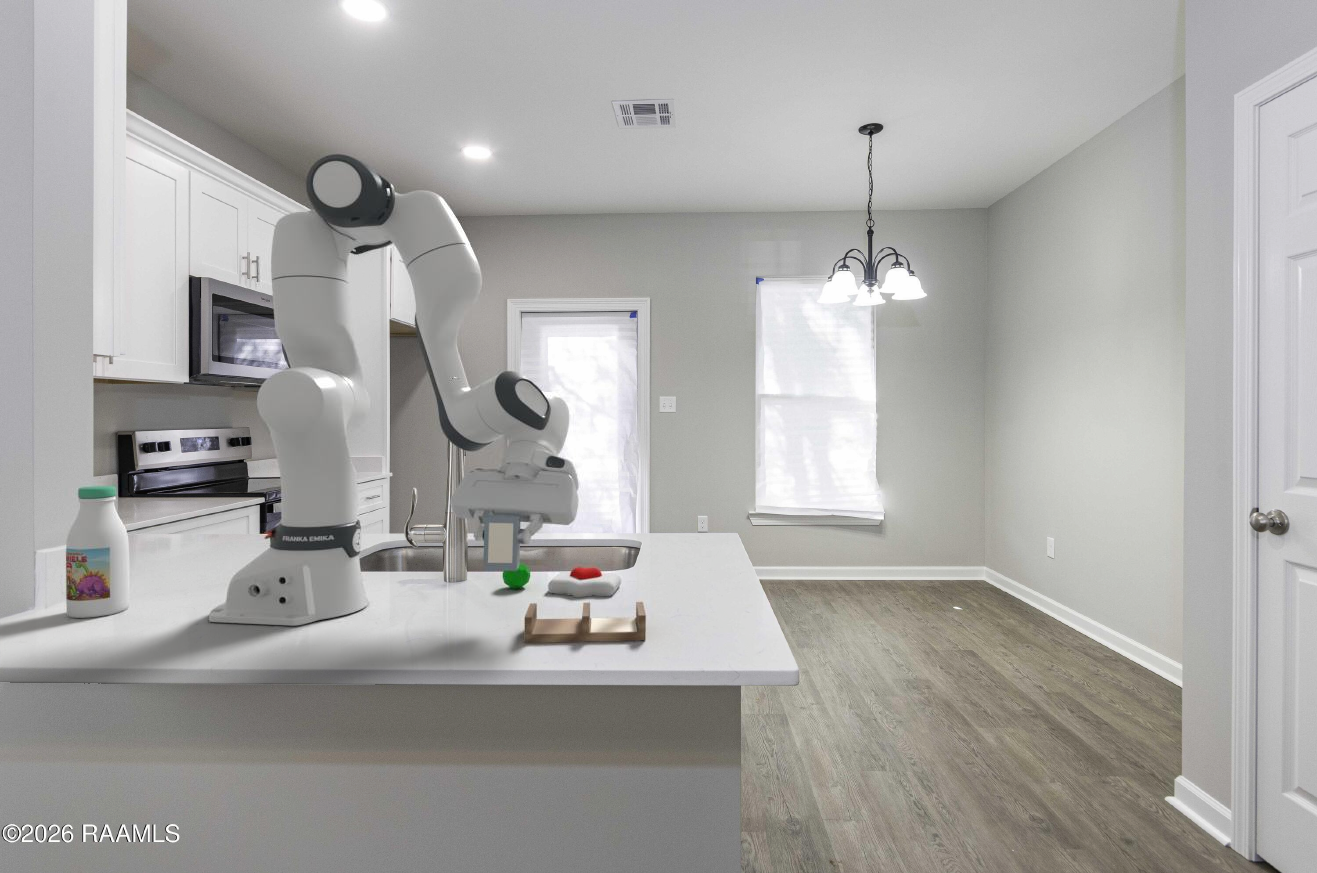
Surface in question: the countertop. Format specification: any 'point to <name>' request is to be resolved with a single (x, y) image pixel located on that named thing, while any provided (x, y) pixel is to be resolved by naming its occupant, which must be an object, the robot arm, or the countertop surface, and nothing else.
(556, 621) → the wooden rack
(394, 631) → the countertop surface
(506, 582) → the polyhedron
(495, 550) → the frame
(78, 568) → the milk bottle
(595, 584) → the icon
